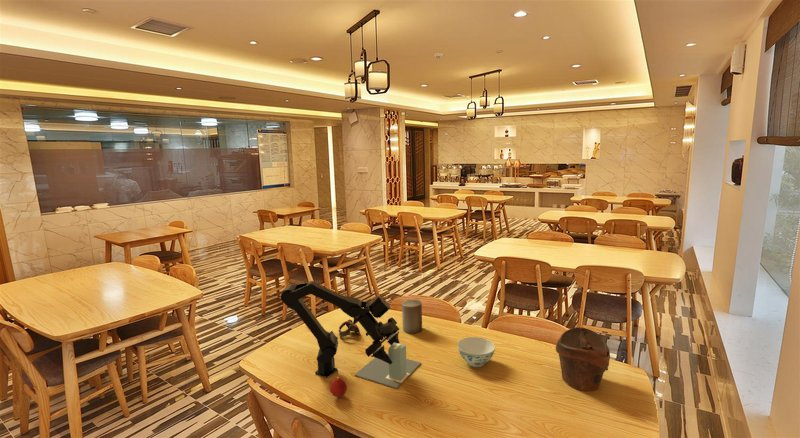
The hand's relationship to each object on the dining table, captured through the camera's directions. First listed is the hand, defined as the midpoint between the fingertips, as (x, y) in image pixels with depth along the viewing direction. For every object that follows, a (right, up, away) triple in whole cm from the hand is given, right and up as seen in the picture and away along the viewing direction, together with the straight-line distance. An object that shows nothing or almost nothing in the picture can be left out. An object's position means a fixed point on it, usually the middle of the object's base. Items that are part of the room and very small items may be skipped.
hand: (397, 357), depth 152 cm
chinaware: (+32, -6, +11) cm, 34 cm away
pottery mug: (-23, -3, +38) cm, 45 cm away
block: (0, -7, +1) cm, 7 cm away
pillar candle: (+7, -1, +43) cm, 44 cm away
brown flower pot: (+69, -8, -4) cm, 69 cm away
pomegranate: (-20, -11, -11) cm, 25 cm away
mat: (-3, -7, +7) cm, 10 cm away
